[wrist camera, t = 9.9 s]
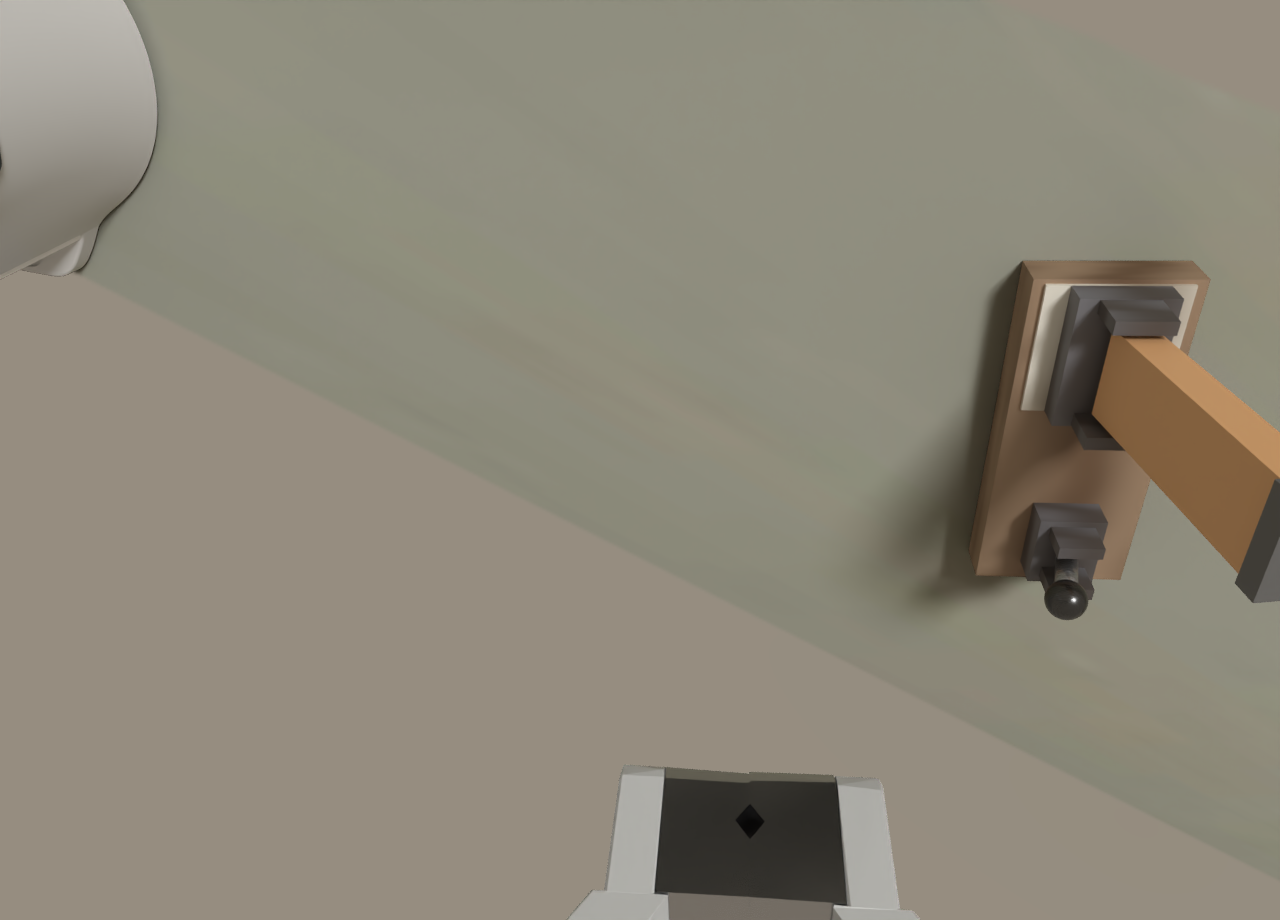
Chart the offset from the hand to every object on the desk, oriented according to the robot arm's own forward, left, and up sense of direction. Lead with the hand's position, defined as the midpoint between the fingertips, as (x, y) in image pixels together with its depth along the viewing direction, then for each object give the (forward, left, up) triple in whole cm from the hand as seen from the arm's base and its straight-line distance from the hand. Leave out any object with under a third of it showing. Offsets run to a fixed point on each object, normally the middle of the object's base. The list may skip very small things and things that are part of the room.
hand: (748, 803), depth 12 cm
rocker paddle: (+15, -10, -31) cm, 36 cm away
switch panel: (+15, -15, -34) cm, 40 cm away
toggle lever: (+15, -20, -31) cm, 40 cm away
